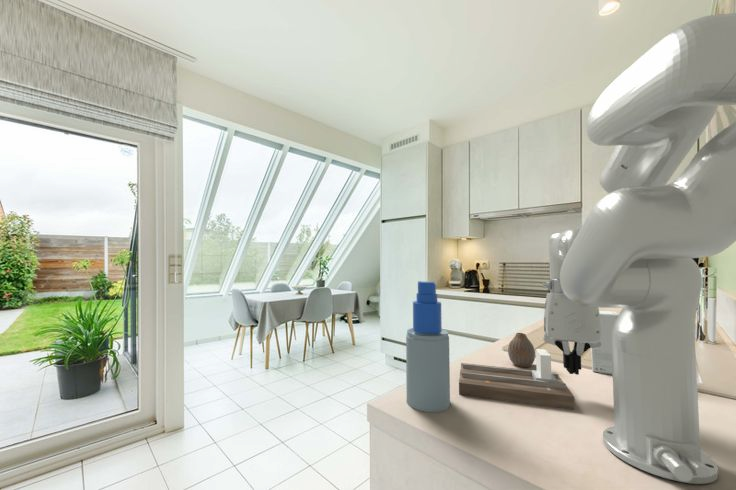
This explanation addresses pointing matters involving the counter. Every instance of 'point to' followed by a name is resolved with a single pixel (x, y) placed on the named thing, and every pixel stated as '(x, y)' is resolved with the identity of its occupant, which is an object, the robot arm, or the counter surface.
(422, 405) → the spray bottle
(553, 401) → the fader console
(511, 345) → the vase
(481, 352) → the counter surface
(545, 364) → the fader slider
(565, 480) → the counter surface
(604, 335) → the skincare box
